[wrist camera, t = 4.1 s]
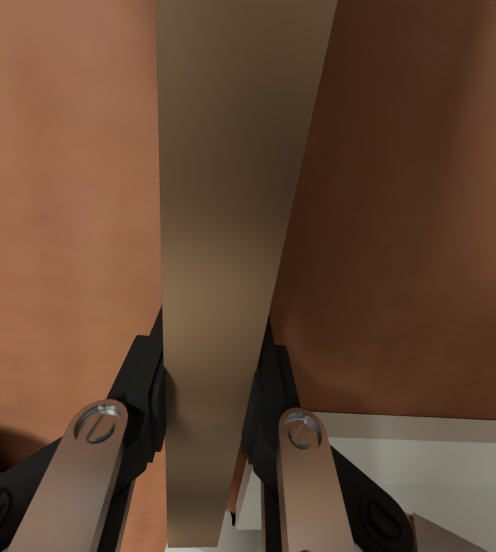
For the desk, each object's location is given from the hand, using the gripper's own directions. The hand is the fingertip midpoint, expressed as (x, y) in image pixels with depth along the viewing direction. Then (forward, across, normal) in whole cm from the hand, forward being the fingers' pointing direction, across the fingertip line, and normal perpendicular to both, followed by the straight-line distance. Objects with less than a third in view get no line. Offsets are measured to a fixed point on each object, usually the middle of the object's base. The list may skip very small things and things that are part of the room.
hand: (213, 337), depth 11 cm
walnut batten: (+1, 0, 0) cm, 1 cm away
